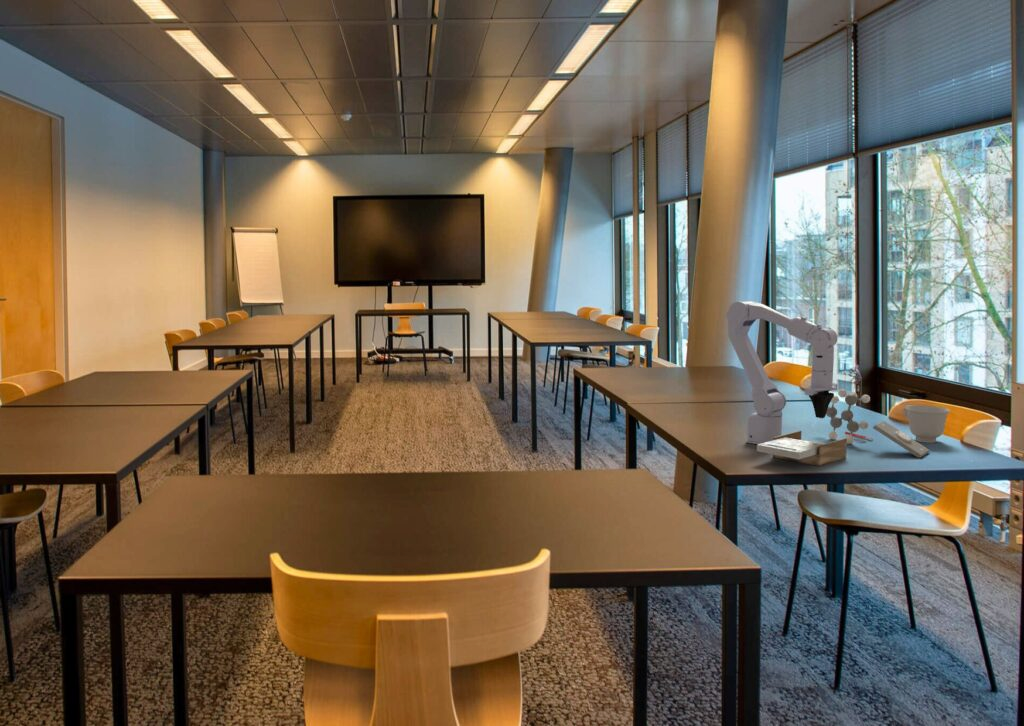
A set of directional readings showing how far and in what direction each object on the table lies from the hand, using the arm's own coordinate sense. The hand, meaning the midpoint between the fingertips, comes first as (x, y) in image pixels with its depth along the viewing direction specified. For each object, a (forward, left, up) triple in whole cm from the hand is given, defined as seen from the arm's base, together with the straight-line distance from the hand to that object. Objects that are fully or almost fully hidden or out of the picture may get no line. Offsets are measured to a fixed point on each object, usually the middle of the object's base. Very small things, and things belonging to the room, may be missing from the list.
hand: (820, 417), depth 224 cm
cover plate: (+2, -18, -7) cm, 20 cm away
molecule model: (-2, +22, -10) cm, 24 cm away
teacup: (+13, +38, -10) cm, 41 cm away
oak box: (+2, -9, -10) cm, 14 cm away
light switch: (+16, +16, -10) cm, 25 cm away
